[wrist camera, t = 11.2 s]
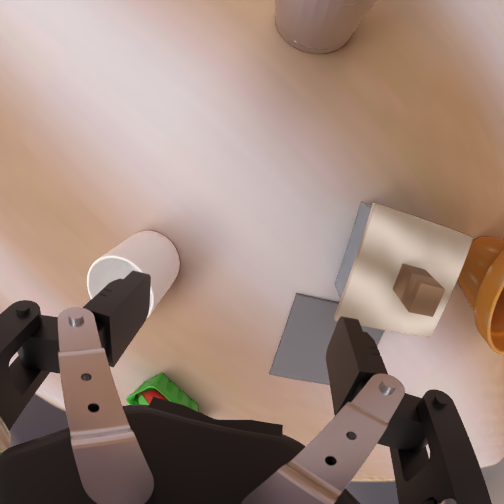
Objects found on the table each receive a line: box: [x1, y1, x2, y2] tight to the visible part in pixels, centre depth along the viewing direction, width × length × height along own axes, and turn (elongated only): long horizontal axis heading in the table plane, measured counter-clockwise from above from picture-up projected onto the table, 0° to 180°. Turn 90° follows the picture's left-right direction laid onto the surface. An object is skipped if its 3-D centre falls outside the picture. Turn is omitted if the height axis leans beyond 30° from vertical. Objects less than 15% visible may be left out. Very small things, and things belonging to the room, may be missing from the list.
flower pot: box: [458, 236, 504, 355], centre depth 30 cm, size 14×14×13 cm
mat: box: [270, 293, 384, 385], centre depth 42 cm, size 14×14×1 cm
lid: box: [334, 202, 473, 338], centre depth 28 cm, size 13×13×6 cm
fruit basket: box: [126, 373, 199, 412], centre depth 43 cm, size 11×9×11 cm
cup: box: [87, 231, 180, 318], centre depth 36 cm, size 8×12×10 cm
